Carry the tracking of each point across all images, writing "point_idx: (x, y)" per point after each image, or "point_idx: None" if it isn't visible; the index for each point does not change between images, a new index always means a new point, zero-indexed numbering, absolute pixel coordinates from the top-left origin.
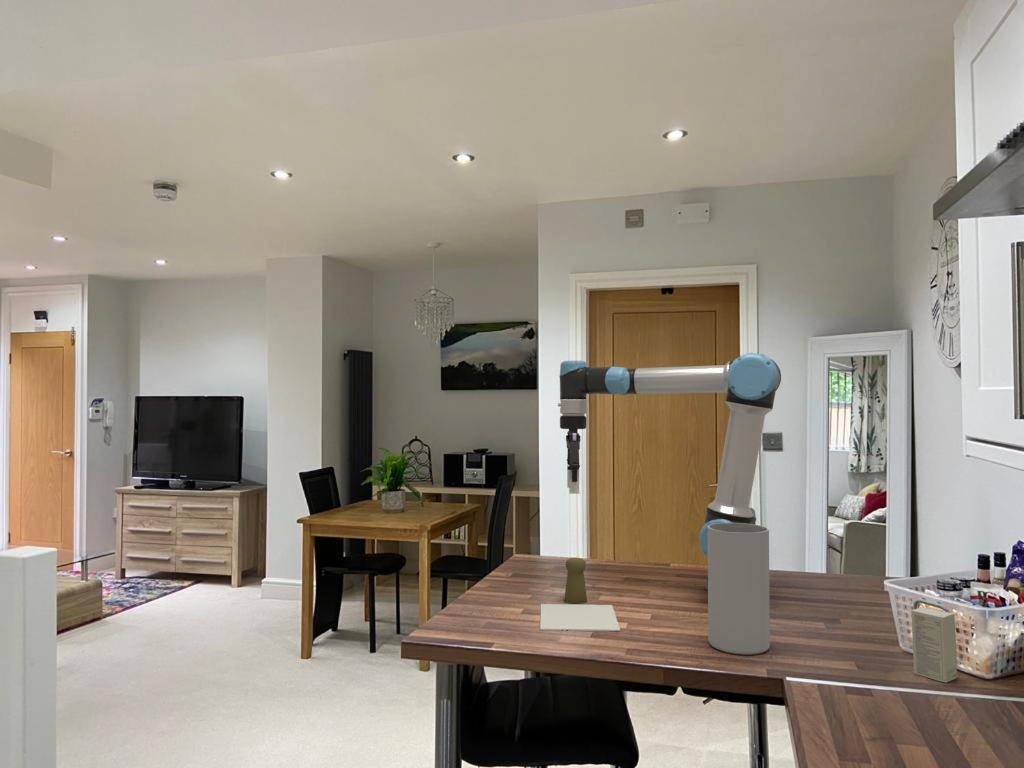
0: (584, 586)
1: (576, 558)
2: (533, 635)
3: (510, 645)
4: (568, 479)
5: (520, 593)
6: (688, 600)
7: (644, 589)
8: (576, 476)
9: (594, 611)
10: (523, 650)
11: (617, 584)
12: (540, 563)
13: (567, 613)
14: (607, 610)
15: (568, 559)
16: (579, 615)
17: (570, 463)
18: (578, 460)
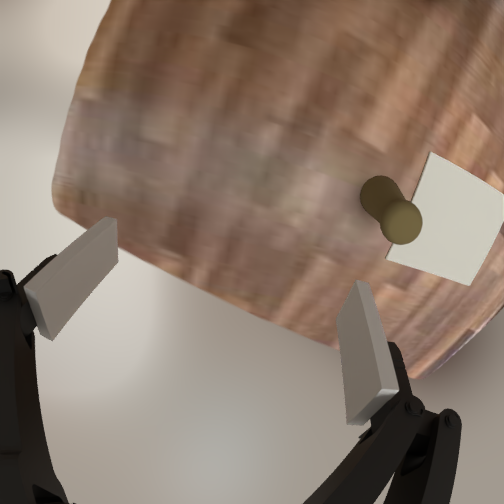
0: (401, 193)
1: (407, 227)
2: (475, 294)
3: (481, 317)
4: (96, 282)
5: (305, 268)
6: (418, 9)
7: (332, 35)
8: (401, 370)
9: (449, 196)
10: (495, 309)
11: (281, 70)
12: (95, 185)
13: (441, 237)
14: (451, 174)
15: (400, 242)
16: (455, 224)
17: (417, 461)
18: (453, 456)
